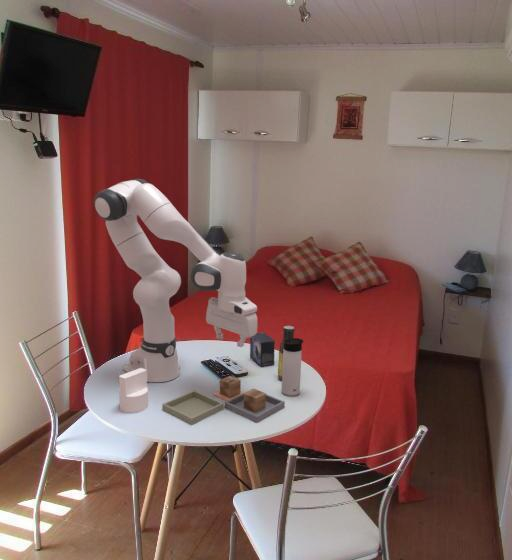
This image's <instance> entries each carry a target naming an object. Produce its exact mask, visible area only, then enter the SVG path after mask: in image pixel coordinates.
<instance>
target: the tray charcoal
mask: <svg viewBox="0 0 512 560" xmlns="http://www.w3.org/2000/svg"><path fill="white" fill-rule="evenodd" d="M253 389H254V388H251V389H249V390H247V391H245V392H244V393H246V392H248V391H251V390H253ZM244 393H243V394H241V395H239V396H237V397H235V398H233V399H231V400H228V401H225V402H224V409H226V410H228V411H230V412H232V413H234V414H237V415H239V416H241V417H243V418H246V419H247V420H250V421H252V422H254V423H256V424H257V423H259V422H262V421H264V420H265V419H267V418H268V417H270V416H271V415H273V414H275V413H277V412H278V411H281V410H283V409H284V408H285V407H286V406H285V403H286V401H285V400H282V399H279V398H277V397H274V396H272V395H269V394H267V393H266V408H264V409H262V410H260V411H258V412H256V413H255V412H252V411H250V410H248V409H245V408H244Z"/></svg>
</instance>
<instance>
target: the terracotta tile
mask: <svg viewBox="0 0 512 560" xmlns="http://www.w3.org/2000/svg"><path fill="white" fill-rule="evenodd" d="M243 393H245V392H244V391H241V390H240V394H239V395H241V394H243ZM239 395H236V396H234V397H232V398H228V397H226V396H224V395H221V394H220V390H219V391H217V392H214V393H213V395H212V396H214V397H217V398H218V399H220V400H224V401H225V402H226V401H228V400H231V399H233V398H235V397H237V396H239Z"/></svg>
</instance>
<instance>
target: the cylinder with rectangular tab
mask: <svg viewBox="0 0 512 560" xmlns="http://www.w3.org/2000/svg"><path fill="white" fill-rule="evenodd" d="M118 379H119V382H118V383H119V391H118V393H119V394H118V395H119V409H120V411H122V412H125V413H127V414H128V413H130V414H131V413H132V414H134V413H135V414H136V413H140V412H143V411H145V410H146V409H148V407H149V388H148V382H147V370H145V369H143V368H139V369H136V370H133V371H131V372H128V373H127V372H125V373H124V374H123V373H122V374H119V376H118Z"/></svg>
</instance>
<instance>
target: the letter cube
mask: <svg viewBox="0 0 512 560" xmlns="http://www.w3.org/2000/svg"><path fill="white" fill-rule="evenodd" d="M241 381H242V380H241V379H240V378H236V377H234V376H232V375H229V376H226V377H224V378H221V379H220V380H219V391H220V394H221V395H224V396H226V397H228V398H232V397H234V396H236V395H239V394H240V391H241V385H242V382H241Z"/></svg>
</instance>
